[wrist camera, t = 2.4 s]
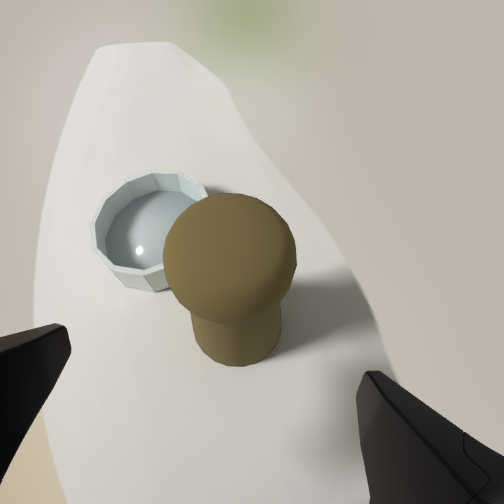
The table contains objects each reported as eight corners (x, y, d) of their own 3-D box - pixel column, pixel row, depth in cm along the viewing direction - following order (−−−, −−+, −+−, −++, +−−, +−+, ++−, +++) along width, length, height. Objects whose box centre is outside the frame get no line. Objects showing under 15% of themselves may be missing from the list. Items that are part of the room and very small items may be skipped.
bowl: (155, 315, 20) (143, 301, 17) (86, 245, 22) (71, 227, 20) (238, 226, 23) (237, 204, 21) (160, 177, 26) (154, 156, 24)
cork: (273, 278, 21) (294, 164, 12) (288, 360, 18) (335, 304, 9) (190, 287, 21) (147, 180, 11) (196, 371, 18) (138, 327, 8)
